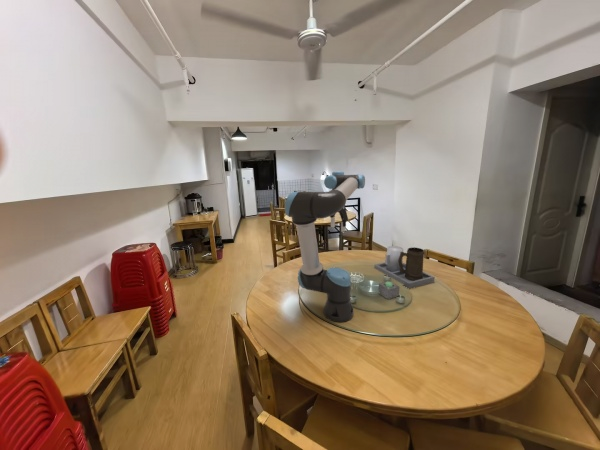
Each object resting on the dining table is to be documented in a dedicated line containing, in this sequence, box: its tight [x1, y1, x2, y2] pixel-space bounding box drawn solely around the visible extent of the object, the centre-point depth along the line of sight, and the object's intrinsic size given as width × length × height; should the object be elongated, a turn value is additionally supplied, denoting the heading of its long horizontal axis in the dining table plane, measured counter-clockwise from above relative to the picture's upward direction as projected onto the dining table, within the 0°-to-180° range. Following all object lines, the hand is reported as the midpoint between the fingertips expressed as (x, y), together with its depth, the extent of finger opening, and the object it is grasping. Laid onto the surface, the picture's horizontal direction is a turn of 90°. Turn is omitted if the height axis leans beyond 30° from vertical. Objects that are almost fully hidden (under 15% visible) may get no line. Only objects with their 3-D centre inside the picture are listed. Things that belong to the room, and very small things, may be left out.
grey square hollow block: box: [377, 280, 400, 300], centre depth 136 cm, size 8×8×6 cm
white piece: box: [384, 245, 404, 272], centre depth 165 cm, size 10×13×16 cm
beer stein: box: [398, 247, 425, 281], centre depth 152 cm, size 15×11×20 cm
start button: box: [385, 281, 394, 288], centre depth 136 cm, size 4×4×6 cm
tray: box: [373, 261, 436, 290], centre depth 160 cm, size 32×21×4 cm, turn 21°
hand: (337, 229), depth 151 cm, fingers open, 13 cm apart
